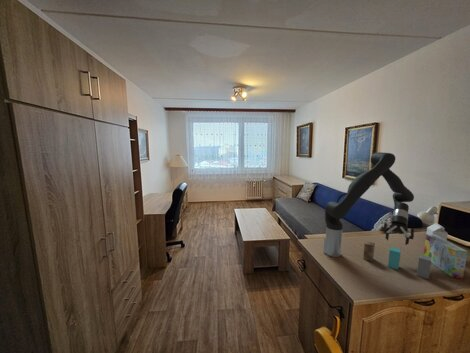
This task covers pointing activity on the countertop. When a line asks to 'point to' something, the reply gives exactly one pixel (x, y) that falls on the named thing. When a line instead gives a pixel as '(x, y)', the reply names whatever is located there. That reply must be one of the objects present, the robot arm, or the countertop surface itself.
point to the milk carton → (437, 231)
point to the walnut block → (369, 251)
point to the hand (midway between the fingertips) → (396, 241)
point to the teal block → (394, 258)
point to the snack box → (445, 255)
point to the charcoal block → (423, 266)
